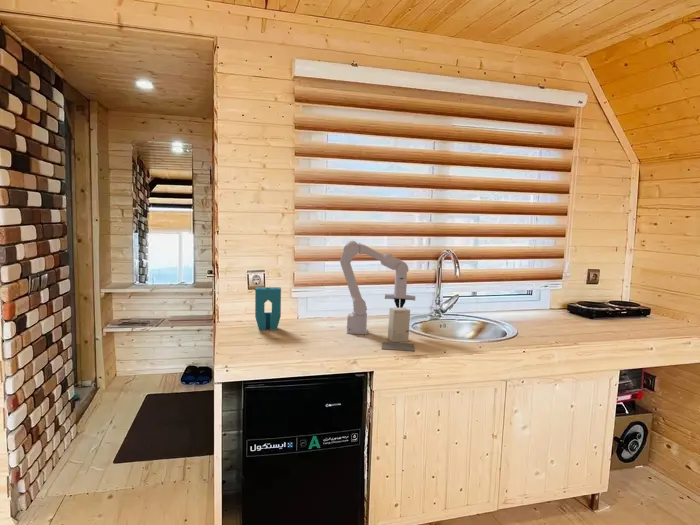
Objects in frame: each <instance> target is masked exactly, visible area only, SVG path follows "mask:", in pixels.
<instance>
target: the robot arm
mask: <svg viewBox="0 0 700 525" xmlns="http://www.w3.org/2000/svg"><path fill="white" fill-rule="evenodd" d="M358 254H359V255H367V256H369V257H372V258H374V259H376V260H378V261H379V262H380V265H382V266H384V267H386V268H388V269H390V270H392V271H395V276H394V288H393V290H394V291H393V294H390V293H389V294H386V293H385V294H384V299H385V300H393V301H394V304H395V306H396V307H395V308H404V306H405V304H406V301H416V296H415V295H409V294H407V285H408V284H407V283H408V276H407V275H408V272H409V266H408V264H407V263H406V262H405V261H403V260H401V258H397V257H394V256H392V254H391V253H384V254H382V253H381V252H378V251H376V250H375V249H374V248H371V247H369V246H367V245H365V244H362V243H360V242H356V241H355V240H350V241H348V242H346V244H345V245H344V247H343V249H342V253H341V257H340V260H339V263H340V266H341V270H342V272H343V275H344V276H343V277H344V278H345V281H346V285H347V287H348V291H349V293H350V297H351V301H352V307H353V311H352V312H351V313H347V320H346V334H351V335H353V334H354V335H367V334H368V330H369V329H368V328H367V327H368V326H367V323H368V313H367V310H368V309H367V303H366V300H364V299H363V298H362V293H361V292H360V289H359V285H358V282H357V280H356V279H357V278H356V276H355V273H354V270H353V268H352V265H351V263H352V261H353V259H354V258H355V257H356V256H357V255H358Z"/></svg>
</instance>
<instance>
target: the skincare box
mask: <svg viewBox="0 0 700 525" xmlns="http://www.w3.org/2000/svg"><path fill="white" fill-rule="evenodd" d="M388 314H389V315H388V328H387V329H388V330H387V339H388V340H389V342H396V343H403V342H409V334H410V333H409V332H410V322H411V309H409V308H406V307H403V308H400V307H399V308H397V307H389V312H388Z"/></svg>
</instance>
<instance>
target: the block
mask: <svg viewBox="0 0 700 525" xmlns="http://www.w3.org/2000/svg"><path fill="white" fill-rule="evenodd" d="M254 297H255V299H254V301H255V306H254V308H255V309H254V310H255V311H254V312H255V314H254V317H255V318H254V319H255V320H256V321H255V322H256V324H257V329H258V330H259V331H266V330H267V329H269V331H277V330H278V327H279V323H280V320H281V314H282V313H281V312H282V311H281V308H282V307H281V306H282V301H281V300H282V288H281V287H279V286H278V287H273V286H269V287H268V286H267V287H266V286H262V287H261V286H259V287H258V286H256V287H255V296H254ZM267 301H269V302H270V303H271V312H265V304H266V303H267Z"/></svg>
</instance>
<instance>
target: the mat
mask: <svg viewBox="0 0 700 525" xmlns="http://www.w3.org/2000/svg"><path fill="white" fill-rule="evenodd" d="M381 350H387V351H389V350H390V351H403V352H415V343H408V342H391V341H382V344H381Z"/></svg>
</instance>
